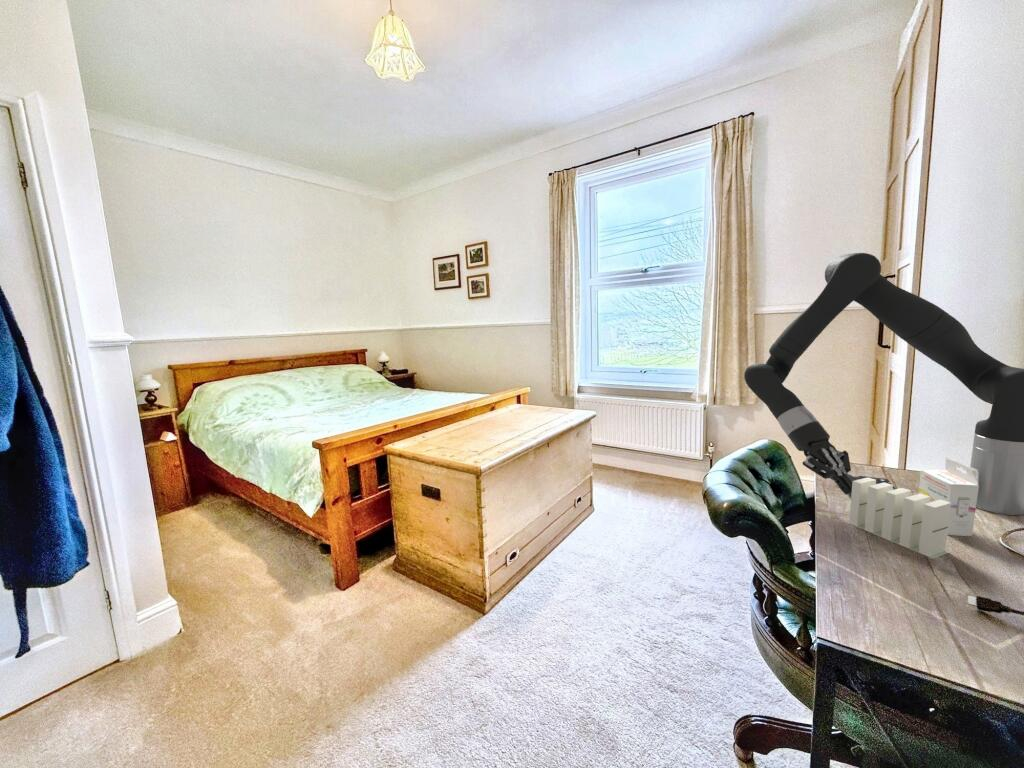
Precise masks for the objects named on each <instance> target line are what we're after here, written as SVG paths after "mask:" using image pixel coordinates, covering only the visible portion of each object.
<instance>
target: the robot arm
mask: <svg viewBox="0 0 1024 768" xmlns="http://www.w3.org/2000/svg"><path fill="white" fill-rule="evenodd" d="M881 273H882V265H881V262H880V260H879V259H878V257H876V256H875V255H873V254H870V253H868V252H854V253H847V254H843V255H839V256H838V257H836V258H834V259H832V260H831V261H830V262H829V263H828V264H827V265H826V268H825V271H824V280H825V283H826V285H825V286H824V288H823V290H822V291H821V292H820V293H819V295H818V296H817V297H816V299H815V300H813V302H812V303H811V304H810V305H809V306H808V307H807V308H806V309H805V310H804V311H803V312H802V313H800V314H799V315H798V316H797V317H796V318H795V319H794V320H792V322H790V324H788V326H786V327H785V329H784V330H782V332H781V334H780V335H779V336H778V337H777V338H776V339H775V341H774V342H773V343H772V345H771V346H770V348H769V351H768V352H769V355H770V356H769V357H768V359H767V361H766V362H765V363H761V362H760V363H753V364H750V365H749V366H748V367H746V369H745V371H744V374H743V375H744V376H743V378H744V381H745V384H746V385H747V386H748V388H749V389H750V390H751V392H753V393H754V395H755V396H756V397H757V398H759V400H761V402H763V403H764V404H765V405H766V407H767V408H768V410H769V411H770V413H771V414H772V415H773V416H774V418H775V419H776V421H777V423H778V424H779V426H780V427H781V429H782V431H783V432H784V433H785V435H786V436H787V438H788V439H789V440H790V442H792V444H793V446H794V448H796V450H798V452H799V451H800V452H803V455H804V456H805V459H804V461H802V466H803V467H806V468H807V469H808V470H810V471H812V472H813V473H815V474H816V475H818V476H819V477H821V478H822V479H825V480H827V479H830V480H831V481H834V483H835V484H836V485H837V487H838V488H839V489H840V490H841V491H842V492H843V494H844V495H848V494H851V493H852V481H851V480H850V479H849V477H848V476H847V474H848V473H850V472H851V471H852V468H851V463H850V456H849V452H848V451H847V450H843V451H840V450H837V448H836V447H835V445H833V444H832V442H830V441H829V440H830V437H831V436H830V434H829V432H827V430H826V429H825V428H824V427H823V425H822V424H821V423H820V422H819V420H818V419H817V417H815V415H814V414H813V413H812V412H811V411H810V410H809V409H808V408H807V407H806V406H805V405H804V404H803V402H802V401H801V400H800V399H799V397H798V396H797V395H796V394H795V393H794V392H793V391H792V390H790V389H789V388H786V386H784V384H783V383H784V382H785V381H786V379H787V378H788V376H789V375H790V372H791V371H792V369H793V367H794V365H795V363H796V362H797V361H798V360H799V358H800V357H802V355H803V354H804V353H805V351H807V350H808V348H809V347H810V346H811V345H812V344H813V343H814V342H815V340H816V339H818V337H819V336H820V334H821V333H823V331H824V330H825V329H826V328H827V327H828V326H829V325H830V324H831V323H832V321H833V320H835V318H837V316H839V314H841V313H842V312H843V311H844V310H845V309H846V308H847V307H848V306H849V305H851V303H852V302H856V303H857V304H858V305H860V306H861V307H863V308H865V310H867V311H868V312H870V313H871V314H872V316H874V317H875V318H876V319H877V320H878V321H880V323H881V324H882V325H884V326H886V327H887V329H889V330H890V331H891V332H893V333H894V335H896V336H897V337H898V338H899V339H901V340H903V341H904V342H905V343H907V344H908V345H910V346H911V347H912V348H914V349H915V350H917V351H918V352H920V353H921V354H922V355H924V356H926V357H927V358H929V359H930V360H931V361H933V362H934V363H937V365H939V366H941V367H942V368H943V369H946V370H947V371H948V372H949V373H951V374H952V375H953V376H954V377H955V378H956V379H957V380H958V381H960V382H961V383H962V384H963V385H964V386H965V387H966V388H967V389H968V390H969V391H970V392H972V394H974V395H975V396H976V397H977V398H978V399H980V400H981V401H983V402H985V403H987V404H990V405H991V410H990V414H989V417H988V418H987V419H982V420H980V421H977V422H976V424H975V426H974V427H975V429H974V434H973V443H972V451H971V458H970V465H969V467H971V468H973V469H976V470H978V472H979V481H978V485H979V489H978V496H977V503H976V509H980V510H984V511H988V512H992V513H996V514H1002V515H1007V516H1009V515H1010V516H1023V515H1024V368H1023V367H1015V366H1011V365H1008V364H1005V363H1003V362H1001V361H1000V360H998V359H996V358H995V357H993V356H991V355H990V354H988V353H986V352H985V350H982V349H981V348H980V347H979V346H978V345H977V344H976V343H975V342H974V340H973V338H972V337H971V335H970V333H969V332H968V330H967V328H966V327H965V326H964V325H963V324H962V323H961V322H960V321H959V320H958V319H957V318H956V317H954V316H952V315H951V314H949V313H948V312H946V311H945V310H944V309H943V308H941V307H939V306H938V305H936V304H934V303H933V302H931V301H929V300H927V299H925V298H923V297H921V296H919V295H917V294H915V293H912V292H910V291H907V290H905V289H903V288H901V287H900V286H897V285H896V284H894V283H892V282H891V281H889V280H888V279H887V278H886V277H884V275H882V274H881Z"/></svg>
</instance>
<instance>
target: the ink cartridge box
mask: <svg viewBox="0 0 1024 768" xmlns="http://www.w3.org/2000/svg"><path fill="white" fill-rule="evenodd" d="M957 468H959V469H962V470H963V471H965V472H963V471H962V470H959V469H957ZM919 478H920V479H919V484H918V486H919V487H918V493H917V494H924V495H927V496H930V502H933V501H937V500H944V501H947V502H950V503H951V509H950V517H949V525H948V532H947V536H963V537H964V536H966V537H972V536H973V533H974V532H973V531H974V525H975V515H976V509H977V507H976V503H977V496H978V489H979V485H978V481H979V472H978V470H976V469H973V468H971V467H970V465H969V466H968V465H966V464H963V463H962V462H959V461H957V460H954V459H952V458H949V457H946V458H945V469H920V476H919Z"/></svg>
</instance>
